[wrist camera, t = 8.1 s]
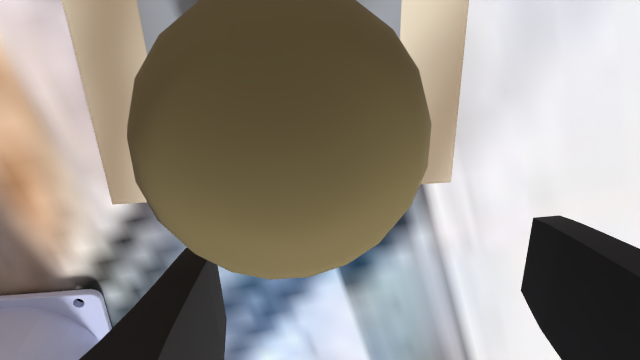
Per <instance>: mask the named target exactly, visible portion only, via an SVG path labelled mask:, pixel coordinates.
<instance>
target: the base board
mask: <svg viewBox="0 0 640 360" xmlns="http://www.w3.org/2000/svg"><path fill="white" fill-rule="evenodd" d="M356 1H358V2H359V3H360V4H361V5H363V6H364V7H365V8H367V9H368V10H369V11H370V12H372V13H373V14H374V15H376V16H377V17H378V18H379V19H381V20H382V21H383V22H385V23H386V24H387V25H388V26H390V27H391V28H392V29H393V30H394V31H395V33H396V34H397V36H398V38H399V39H400V41H401V42H402V44H403V45H404V47H405V48H406V50H407V52H408V53H409V55H410V56H411V58H412V59H413V61H414V62H415V64H416V66H417V67H418V69H419V72H420V76H421V80H422V85H423V89H424V93H425V97H426V101H427V106H428V110H429V114H430V119H431V124H432V126H431V136H430V147H429V157H428V167H427V170H426V172H425V174H424V177H423V179H422V181H421V184H430V183H445V182H451V176H452V166H453V156H454V146H455V136H456V126H457V115H458V105H459V95H460V85H461V75H462V65H463V55H464V45H465V34H466V24H467V14H468V4H469V0H356ZM197 2H198V0H62V3H63V7H64V11H65V15H66V19H67V23H68V27H69V31H70V35H71V39H72V43H73V47H74V51H75V55H76V59H77V63H78V67H79V71H80V75H81V79H82V83H83V87H84V91H85V95H86V99H87V103H88V107H89V111H90V115H91V119H92V123H93V128H94V132H95V136H96V140H97V144H98V148H99V152H100V156H101V160H102V164H103V168H104V172H105V176H106V180H107V184H108V188H109V192H110V196H111V200H112V204H127V203H142V202H147V201H146V199H145V197H144V196H143V194H142V192H141V190H140V189H139V187H138V185H137V184H136V182H135V177H134V171H133V166H132V161H131V156H130V151H129V146H128V141H127V124H128V118H129V111H130V105H131V99H132V92H133V86H134V79H135V77H136V75H137V73H138V71H139V69H140V68H141V66H142V64H143V62H144V61H145V59H146V57H147V55H148V53H149V52H150V50H151V48H152V46H153V44H154V43H155V41H156V39H157V37H158V35H159V34H160V33H162V32H163V31H164V30H165V29H166V28H167V27H169V26H170V25H171V24H172V23H173V22H174V21H176V20H177V19H178V18H179V17H180V16H181V15H183V14H184V13H185V12H186V11H187V10H188V9H190V8H191V7H192V6H193V5H194V4H195V3H197Z"/></svg>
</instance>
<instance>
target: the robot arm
mask: <svg viewBox="0 0 640 360" xmlns="http://www.w3.org/2000/svg"><path fill="white" fill-rule="evenodd" d="M521 292H522V294H523V296H524V298H525V300H526V302H527V304H528V306H529V308H530V310H531V312H532V314H533V316H534V318H535V319H536V321H537V323H538V325H539V327H540V329H541V330H542V332H543V333H544V335H545V336H546V338H547V339H548V341H549V342H550V343H551V345H552V346H553V348H554V349H555V351H556V352H557V354H558V355H559V356H560V358H561V359H562V360H640V249H639V248H636V247H634V246H632V245H630V244H627V243H625V242H623V241H621V240H618V239H616V238H614V237H612V236H609V235H607V234H605V233H603V232H600V231H598V230H596V229H593V228H591V227H588V226H586V225H584V224H581V223H579V222H576V221H574V220H571V219H568V218H565V217H562V216H549V217H538V218H533V223H532V228H531V234H530V240H529V246H528V252H527V258H526V264H525V270H524V276H523V281H522V287H521ZM77 299H81V300H83V301H84V302H80V301H78V300H77ZM225 337H226V313H225V307H224V301H223V296H222V290H221V284H220V278H219V272H218V266H217V265H216V264H214V263H212V262H210V261H208V260H206V259H204V258H202V257H200V256H198V255H196V254H195V253H194V252H192V251H191V250H190V249H189V248H186V249H185V250H184V251H183V252H182V253H181V254H180V255H179V256H178V258H177V259H176V260H175V261H174V262H173V263H172V264H171V266H170V267H169V268H168V269H167V270H166V271H165V272H164V274H163V275H162V276H161V277H160V278H159V279H158V281H157V282H156V283H155V284H154V285H153V286H152V287H151V288H150V290H149V291H148V292H147V293H146V294H145V295H144V296H143V297H142V298H141V299H140V300H139V302H138V303H137V304H136V305H135V306H134V307H133V308H132V309H131V310H130V311H129V312H128V313H127V314H126V315H125V316H124V317H123V318H122V319H121V320H120V321H119V322H118V323H117V324H116V325H115V326H114V327H113V328H112V326H111V323H110V319H109V316H108V312H107V309H106V305H105V302H104V298H103V296H102V294H101V293H100V292H99V291H97V290H94V289H84V290H71V291H58V292H45V293H32V294H19V295H6V296H0V360H224V352H225Z"/></svg>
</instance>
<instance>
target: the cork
mask: <svg viewBox="0 0 640 360" xmlns="http://www.w3.org/2000/svg"><path fill="white" fill-rule="evenodd" d="M431 126H432V124H431V119H430V114H429V110H428V106H427V101H426V97H425V93H424V89H423V85H422V80H421V76H420V72H419V69H418V67H417V66H416V64H415V62H414V61H413V59H412V58H411V56H410V55H409V53H408V52H407V50H406V48H405V47H404V45H403V44H402V42H401V41H400V39H399V38H398V36H397V34H396V33H395V31H394V30H393V29H392V28H391V27H390V26H388V25H387V24H386V23H385V22H383V21H382V20H381V19H379V18H378V17H377V16H376V15H374V14H373V13H372V12H370V11H369V10H368V9H367V8H365V7H364V6H363V5H361V4H360V3H359V2H358V1H356V0H198V2H197V3H195V4H194V5H193V6H192V7H191V8H190V9H188V10H187V11H186V12H185V13H184V14H183V15H181V16H180V17H179V18H178V19H177V20H176V21H174V22H173V23H172V24H171V25H170V26H169V27H167V28H166V29H165V30H164V31H163V32H162V33H160V34H159V35H158V37H157V39H156V41H155V43H154V44H153V46H152V48H151V50H150V52H149V53H148V55H147V57H146V59H145V61H144V62H143V64H142V66H141V68H140V69H139V71H138V73H137V75H136V77H135V79H134V86H133V92H132V99H131V105H130V111H129V118H128V124H127V141H128V146H129V151H130V156H131V161H132V166H133V171H134V177H135V182H136V184H137V185H138V187H139V189H140V190H141V192H142V194H143V196H144V197H145V199H146V201H147V203H148V204H149V206H150V208H151V209H152V211H153V213H154V215H155V216H156V218H157V220H158V221H159V222H160V223H161V224H162V225H164V226H165V227H166V228H167V229H168V230H169V231H170V232H171V233H172V234H173V235H175V236H176V237H177V238H178V239H179V240H180V241H181V242H182V243H183V244H184V245H185V246H187V247H188V248H189V249H190V250H191V251H192V252H194V253H195V254H196V255H198V256H200V257H202V258H204V259H206V260H208V261H210V262H212V263H214V264H216V265H218V266H221V267H223V268H225V269H227V270H229V271H231V272H234V273H240V274H245V275H250V276H255V277H260V278H266V279H285V278H299V277H311V276H314V275H317V274H320V273H323V272H326V271H329V270H332V269H335V268H338V267H341V266H344V265H347V264H348V263H350V262H351V261H353V260H354V259H356V258H357V257H359V256H360V255H362V254H363V253H365V252H366V251H368V250H369V249H371V248H372V247H374V246H375V245H377V244H378V243H380V241H381V240H382V239H383V238H384V237H385V236H386V234H387V233H388V232H389V231H390V230H391V229H392V227H393V226H394V225H395V224H396V223H397V221H398V220H399V219H400V218H401V217H402V216H403V214H404V213H405V212H406V211H407V210H408V209H409V207H410V206H411V204H412V202H413V200H414V197H415V195H416V193H417V190H418V188H419V186H420V184H421V181H422V179H423V177H424V174H425V172H426V170H427V167H428V157H429V147H430V136H431Z"/></svg>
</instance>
